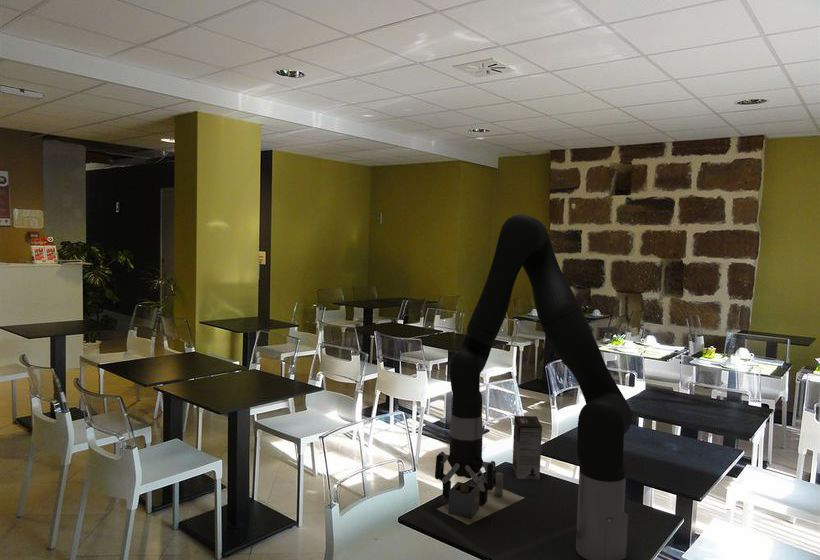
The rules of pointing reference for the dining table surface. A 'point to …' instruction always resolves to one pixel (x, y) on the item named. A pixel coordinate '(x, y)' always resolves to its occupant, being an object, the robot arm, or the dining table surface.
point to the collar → (464, 501)
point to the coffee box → (527, 447)
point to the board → (494, 503)
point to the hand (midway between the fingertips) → (464, 501)
